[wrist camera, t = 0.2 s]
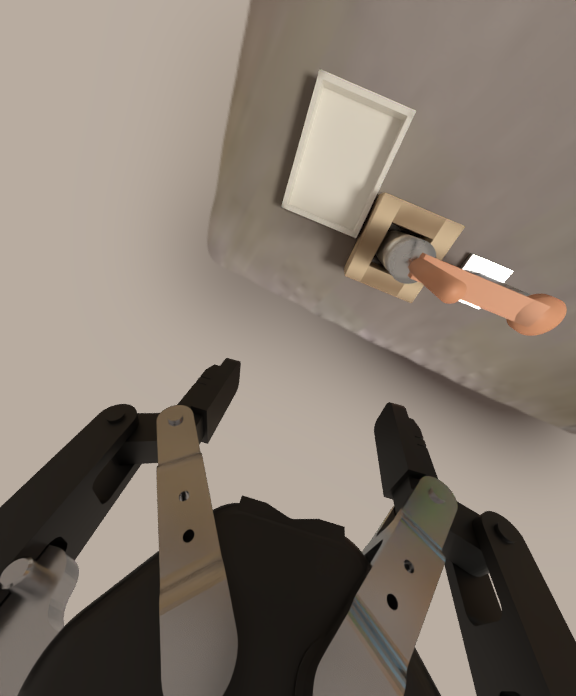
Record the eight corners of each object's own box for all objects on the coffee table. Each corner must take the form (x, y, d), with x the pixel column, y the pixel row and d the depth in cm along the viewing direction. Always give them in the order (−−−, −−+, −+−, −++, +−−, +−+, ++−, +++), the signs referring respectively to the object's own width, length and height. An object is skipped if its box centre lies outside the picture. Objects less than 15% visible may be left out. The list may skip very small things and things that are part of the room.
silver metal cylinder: (386, 225, 32) (405, 232, 23) (415, 237, 32) (446, 249, 23) (369, 256, 34) (381, 274, 25) (396, 268, 34) (418, 289, 25)
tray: (321, 79, 26) (319, 68, 24) (410, 118, 26) (416, 110, 24) (284, 207, 33) (281, 207, 31) (355, 236, 33) (356, 238, 31)
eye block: (378, 194, 30) (385, 192, 26) (447, 223, 30) (465, 226, 26) (344, 267, 36) (344, 275, 31) (402, 292, 36) (411, 303, 32)
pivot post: (470, 253, 32) (526, 272, 22) (509, 270, 32) (581, 295, 22) (440, 292, 35) (478, 323, 26) (476, 307, 35) (526, 343, 26)
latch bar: (420, 240, 22) (463, 258, 14) (567, 302, 22) (687, 352, 15) (395, 279, 24) (422, 313, 16) (530, 335, 25) (618, 394, 17)
